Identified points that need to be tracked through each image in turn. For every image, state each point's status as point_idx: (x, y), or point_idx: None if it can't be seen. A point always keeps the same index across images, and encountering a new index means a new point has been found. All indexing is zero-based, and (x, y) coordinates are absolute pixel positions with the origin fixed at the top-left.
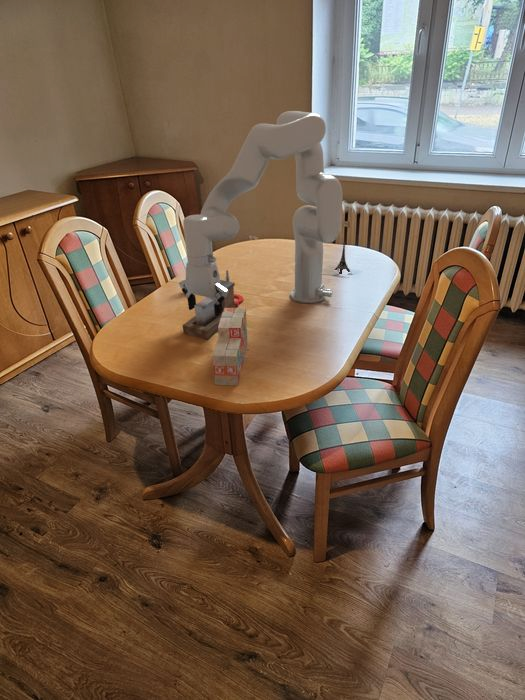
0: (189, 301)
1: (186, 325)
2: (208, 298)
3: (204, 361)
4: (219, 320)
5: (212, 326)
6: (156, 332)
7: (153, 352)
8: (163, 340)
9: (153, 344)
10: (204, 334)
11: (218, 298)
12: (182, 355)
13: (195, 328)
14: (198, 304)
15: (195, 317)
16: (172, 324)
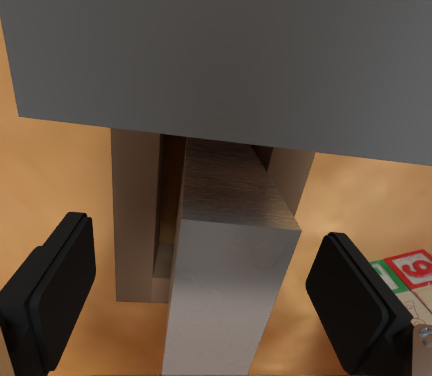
0: (58, 347)
1: (138, 297)
2: (218, 253)
3: (292, 358)
4: (294, 204)
5: None
6: None
7: (111, 372)
8: (86, 321)
9: (73, 346)
10: None
11: (409, 368)
12: None
13: None
14: (184, 365)
15: (129, 217)
16: (6, 212)
